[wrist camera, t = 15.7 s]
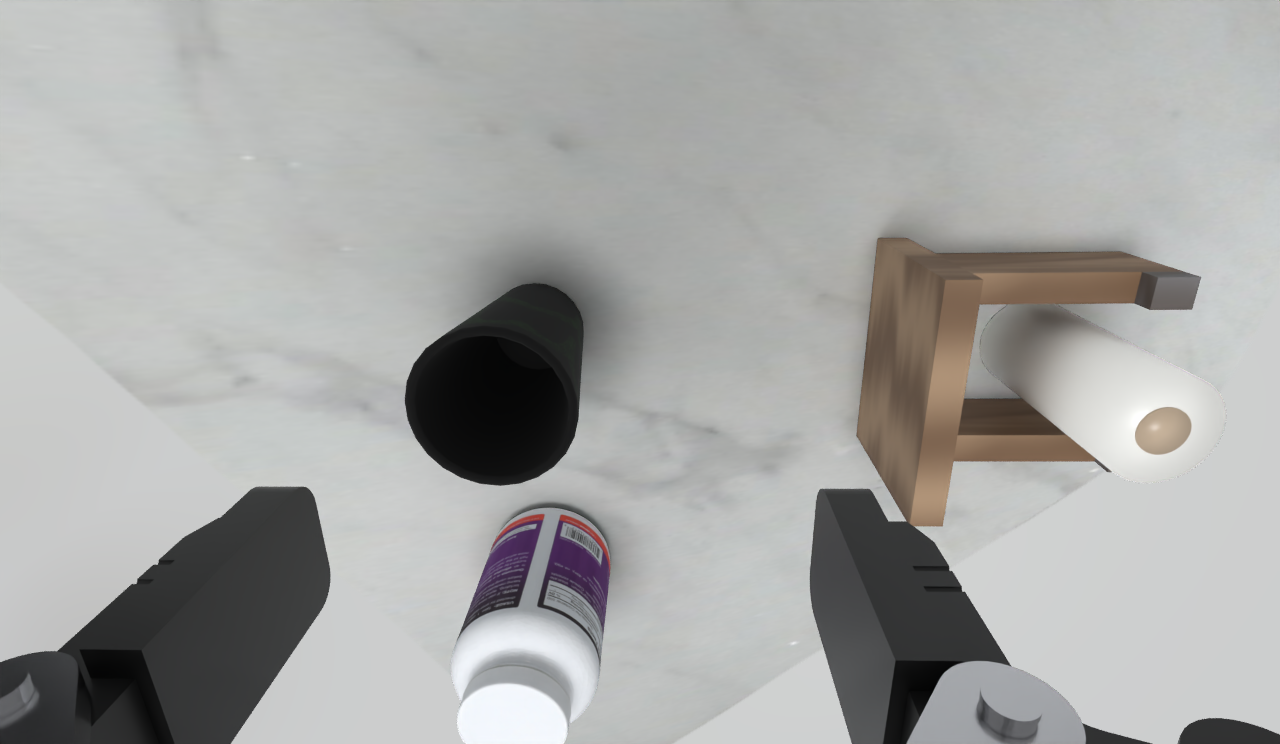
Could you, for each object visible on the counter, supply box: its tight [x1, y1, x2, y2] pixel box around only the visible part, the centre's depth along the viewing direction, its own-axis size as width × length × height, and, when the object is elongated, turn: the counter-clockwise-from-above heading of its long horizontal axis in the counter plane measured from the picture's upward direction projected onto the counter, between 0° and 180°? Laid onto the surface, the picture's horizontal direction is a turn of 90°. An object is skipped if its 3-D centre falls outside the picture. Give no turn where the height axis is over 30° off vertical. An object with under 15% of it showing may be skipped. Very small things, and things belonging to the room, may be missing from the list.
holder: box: [857, 238, 1201, 526], centre depth 36 cm, size 12×14×10 cm
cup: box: [405, 283, 583, 486], centre depth 36 cm, size 8×8×12 cm
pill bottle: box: [451, 508, 611, 744], centre depth 40 cm, size 8×8×14 cm
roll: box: [980, 304, 1227, 483], centre depth 35 cm, size 5×5×12 cm
